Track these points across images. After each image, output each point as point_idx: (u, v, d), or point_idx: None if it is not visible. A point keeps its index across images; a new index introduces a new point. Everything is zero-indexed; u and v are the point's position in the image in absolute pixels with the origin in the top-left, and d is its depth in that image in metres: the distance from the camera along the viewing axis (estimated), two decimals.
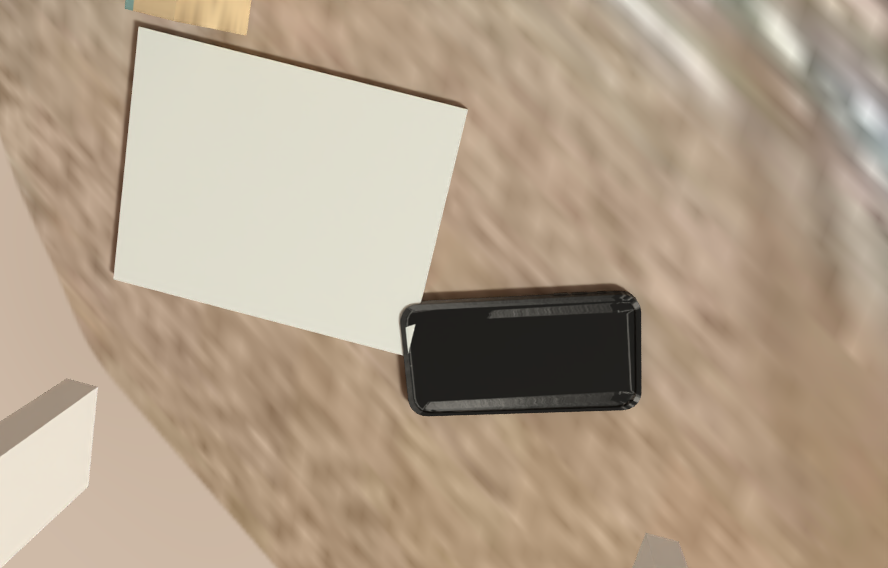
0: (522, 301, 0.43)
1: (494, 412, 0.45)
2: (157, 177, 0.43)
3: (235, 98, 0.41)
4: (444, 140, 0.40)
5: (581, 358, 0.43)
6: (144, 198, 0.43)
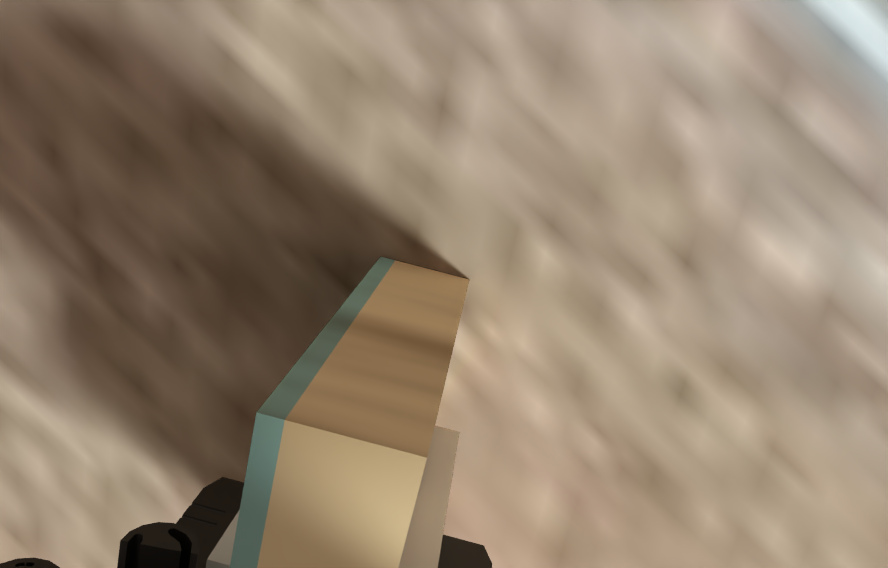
0: None
1: None
2: None
3: None
4: None
5: None
6: None
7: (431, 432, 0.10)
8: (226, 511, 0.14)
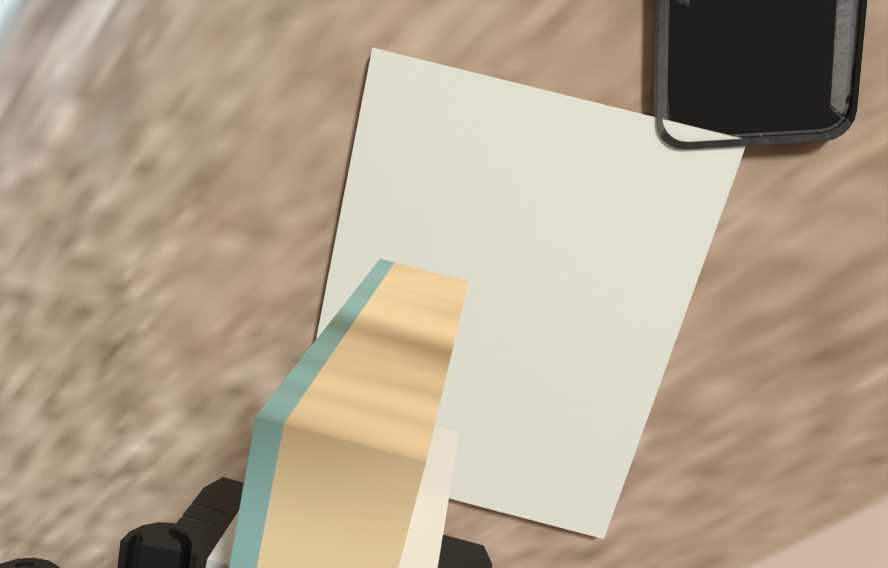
0: None
1: None
2: (469, 464, 0.33)
3: None
4: (414, 80, 0.29)
5: None
6: (495, 484, 0.34)
7: (430, 436, 0.10)
8: (226, 511, 0.14)
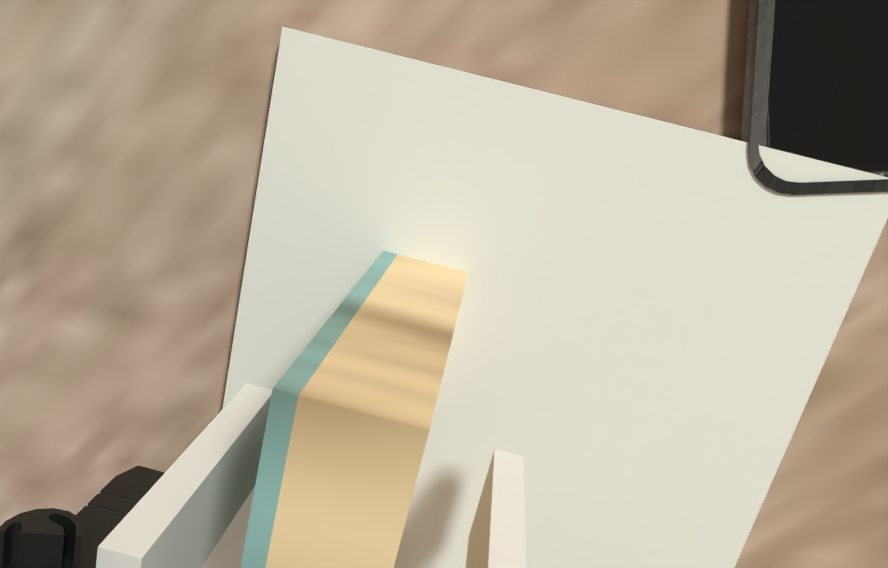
0: None
1: None
2: None
3: None
4: (352, 81, 0.18)
5: None
6: None
7: (433, 408, 0.11)
8: (135, 499, 0.13)
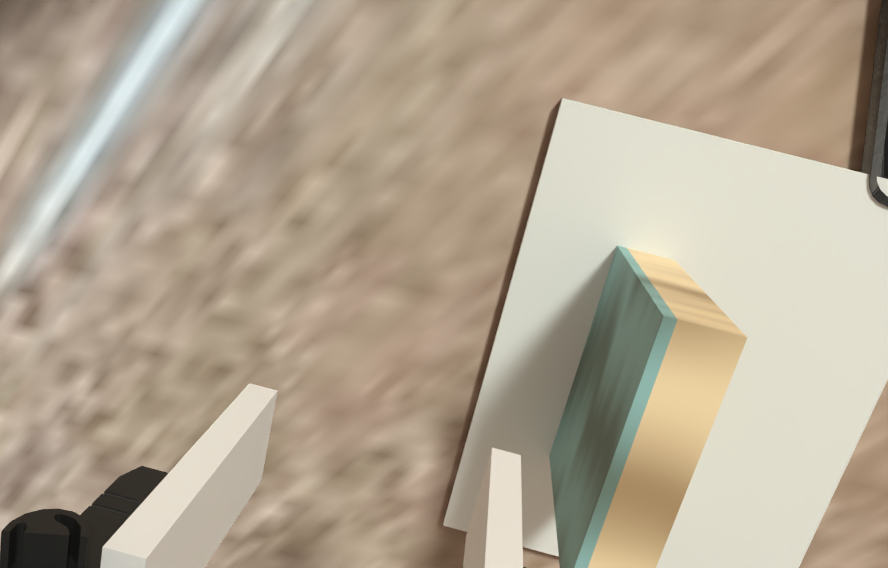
0: None
1: None
2: None
3: (534, 422, 0.30)
4: (607, 133, 0.27)
5: None
6: (662, 556, 0.31)
7: (738, 329, 0.20)
8: (139, 500, 0.13)
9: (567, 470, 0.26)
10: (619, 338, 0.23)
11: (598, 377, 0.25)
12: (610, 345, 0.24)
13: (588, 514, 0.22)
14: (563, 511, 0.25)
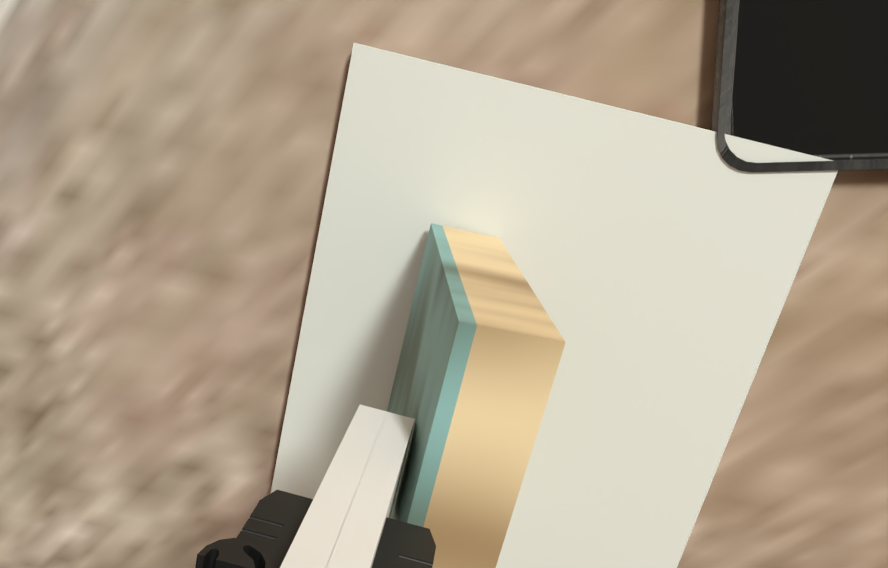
0: None
1: None
2: None
3: None
4: (409, 85, 0.22)
5: None
6: None
7: (556, 329, 0.16)
8: (284, 524, 0.14)
9: None
10: (425, 342, 0.19)
11: (408, 388, 0.20)
12: (418, 349, 0.20)
13: None
14: None
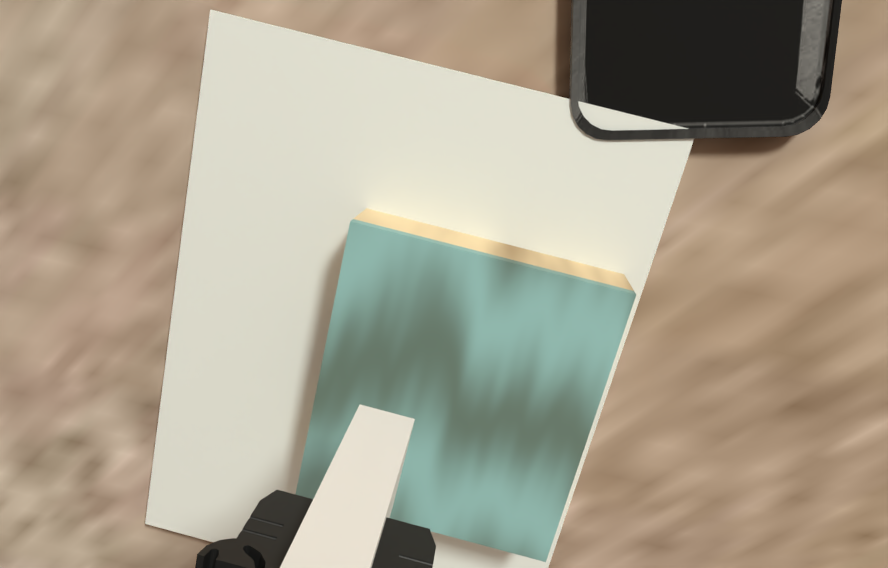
0: None
1: None
2: None
3: (230, 403, 0.26)
4: (266, 52, 0.22)
5: None
6: None
7: (603, 269, 0.23)
8: (284, 524, 0.14)
9: (420, 481, 0.23)
10: (493, 328, 0.21)
11: (446, 376, 0.22)
12: (462, 339, 0.22)
13: (555, 486, 0.23)
14: (454, 513, 0.23)
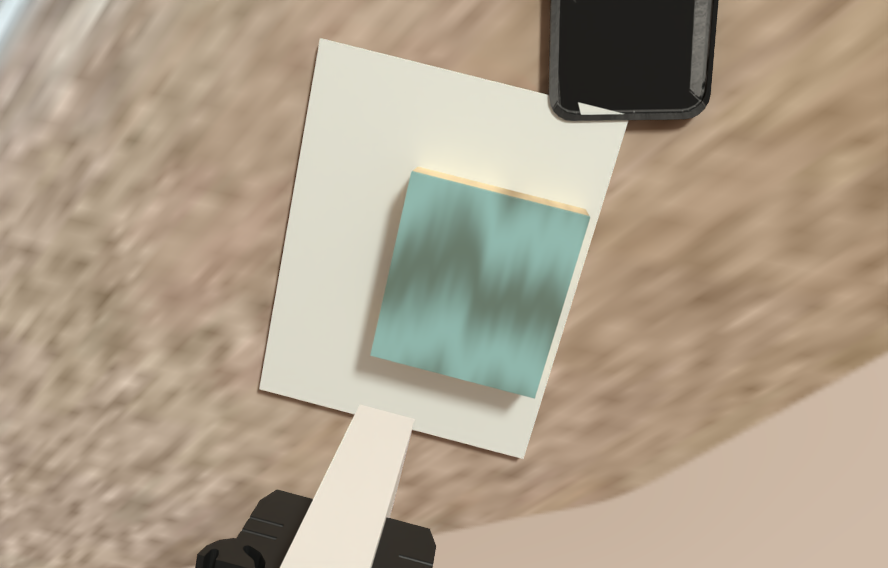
0: None
1: None
2: (408, 393, 0.39)
3: (322, 301, 0.38)
4: (355, 65, 0.35)
5: None
6: (430, 411, 0.39)
7: None
8: (284, 524, 0.14)
9: (453, 344, 0.36)
10: (501, 240, 0.34)
11: (470, 272, 0.34)
12: (481, 247, 0.34)
13: (541, 345, 0.35)
14: (475, 366, 0.36)
